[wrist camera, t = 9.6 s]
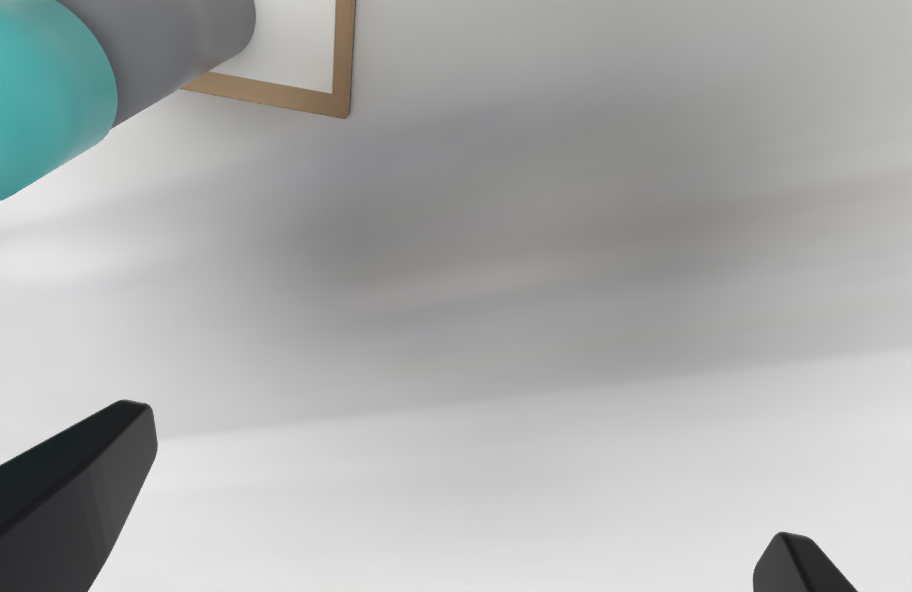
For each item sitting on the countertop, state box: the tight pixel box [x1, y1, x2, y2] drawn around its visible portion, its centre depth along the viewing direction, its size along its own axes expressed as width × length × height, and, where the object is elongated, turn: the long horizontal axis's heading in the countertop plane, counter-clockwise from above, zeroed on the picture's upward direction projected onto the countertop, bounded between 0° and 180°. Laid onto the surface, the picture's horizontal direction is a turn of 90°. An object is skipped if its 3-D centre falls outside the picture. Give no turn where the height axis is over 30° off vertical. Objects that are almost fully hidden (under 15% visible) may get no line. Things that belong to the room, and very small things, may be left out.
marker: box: [0, 0, 256, 201], centre depth 15 cm, size 3×3×9 cm
